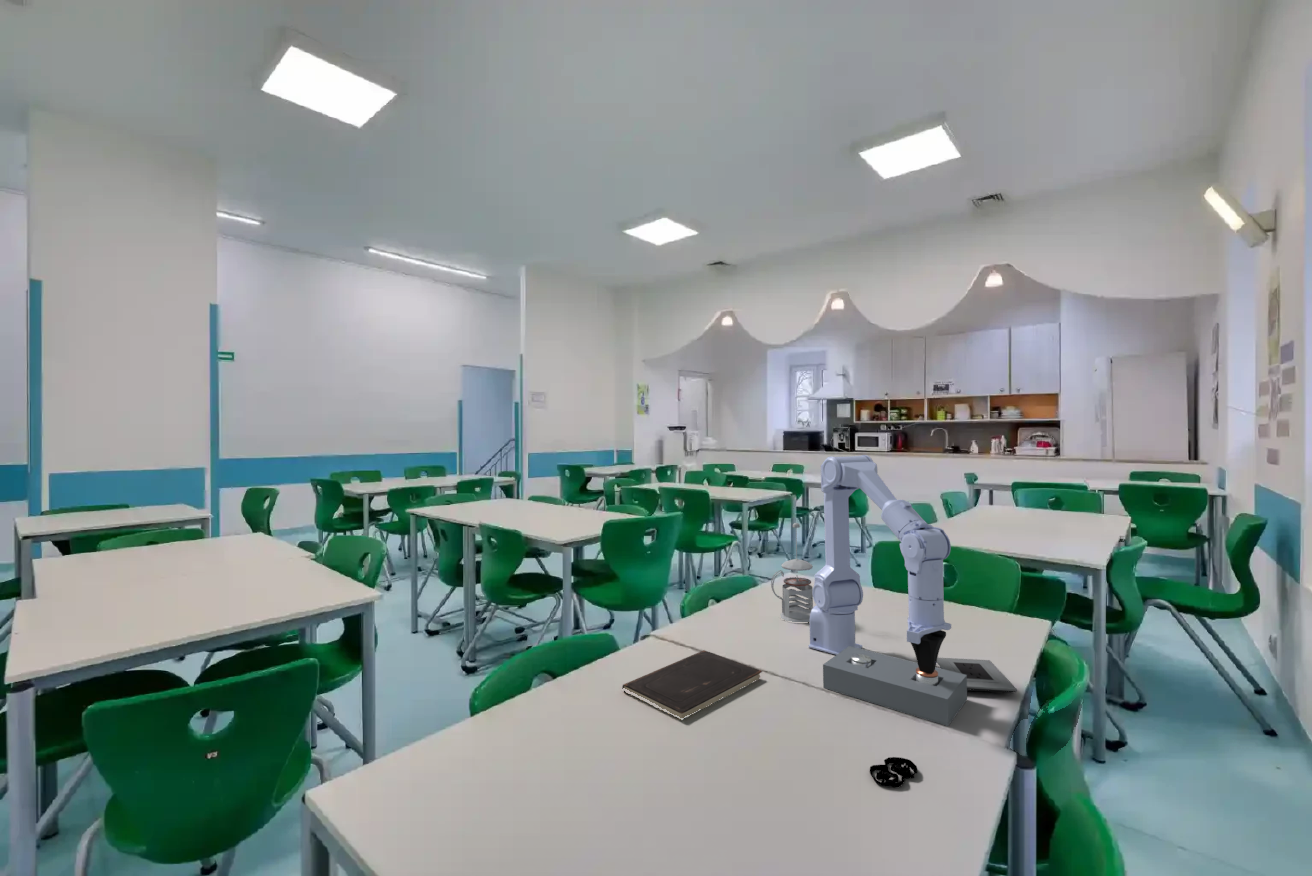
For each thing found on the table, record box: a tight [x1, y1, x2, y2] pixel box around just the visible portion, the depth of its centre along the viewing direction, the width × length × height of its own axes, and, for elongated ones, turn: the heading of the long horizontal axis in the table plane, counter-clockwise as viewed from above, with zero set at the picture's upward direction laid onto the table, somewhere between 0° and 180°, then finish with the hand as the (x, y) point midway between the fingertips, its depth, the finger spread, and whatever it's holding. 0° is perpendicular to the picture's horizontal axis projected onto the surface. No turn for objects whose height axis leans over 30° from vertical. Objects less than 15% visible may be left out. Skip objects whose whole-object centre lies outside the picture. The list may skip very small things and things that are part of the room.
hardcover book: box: [621, 649, 763, 718], centre depth 111 cm, size 16×23×2 cm
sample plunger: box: [851, 654, 871, 668], centre depth 110 cm, size 4×4×5 cm
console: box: [822, 646, 968, 727], centre depth 106 cm, size 22×12×4 cm, turn 48°
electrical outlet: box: [936, 657, 1018, 694], centre depth 110 cm, size 13×10×2 cm
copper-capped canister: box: [916, 667, 938, 686], centre depth 102 cm, size 4×4×5 cm
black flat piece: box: [869, 756, 918, 789], centre depth 81 cm, size 5×8×1 cm, turn 123°
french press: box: [770, 522, 814, 622], centre depth 149 cm, size 10×12×25 cm
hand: (926, 671), depth 102 cm, fingers closed, pressing on copper-capped canister
